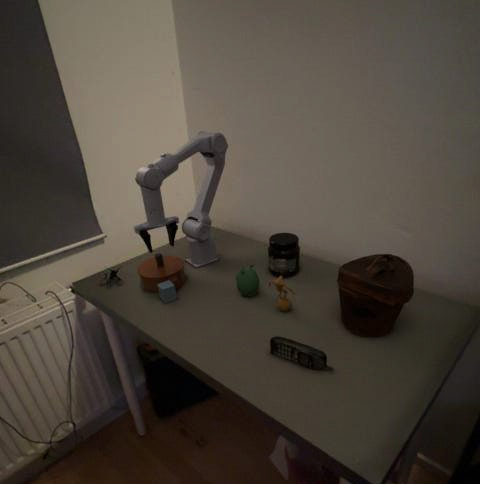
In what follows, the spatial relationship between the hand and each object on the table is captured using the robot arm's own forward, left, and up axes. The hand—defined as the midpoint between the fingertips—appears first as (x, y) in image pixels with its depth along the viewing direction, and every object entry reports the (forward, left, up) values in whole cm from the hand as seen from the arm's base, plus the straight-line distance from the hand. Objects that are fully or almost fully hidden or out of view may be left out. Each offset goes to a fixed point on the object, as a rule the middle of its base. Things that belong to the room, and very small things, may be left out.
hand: (161, 248), depth 115 cm
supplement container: (-33, +24, -11) cm, 42 cm away
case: (-31, +60, -11) cm, 68 cm away
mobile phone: (-7, +60, -11) cm, 61 cm away
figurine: (-17, +42, -11) cm, 46 cm away
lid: (+2, +3, -5) cm, 6 cm away
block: (+6, +14, -10) cm, 18 cm away
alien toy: (-15, +28, -11) cm, 33 cm away
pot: (+2, +3, -10) cm, 11 cm away
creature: (+17, -8, -11) cm, 21 cm away
